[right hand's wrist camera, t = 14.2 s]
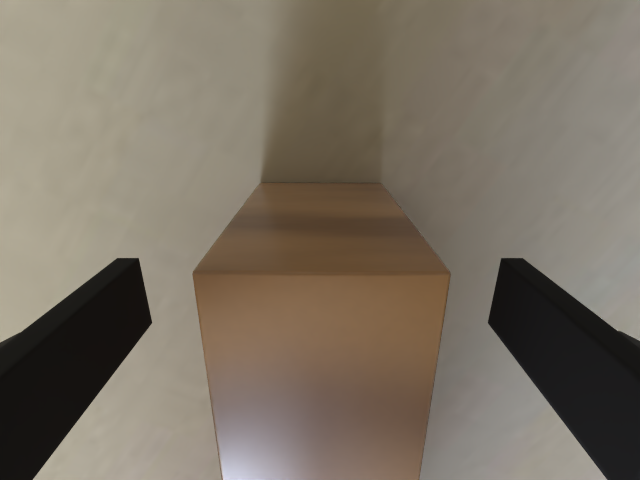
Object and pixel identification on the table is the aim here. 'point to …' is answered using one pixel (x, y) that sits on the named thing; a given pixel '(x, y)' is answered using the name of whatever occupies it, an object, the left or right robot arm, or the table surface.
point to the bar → (321, 334)
